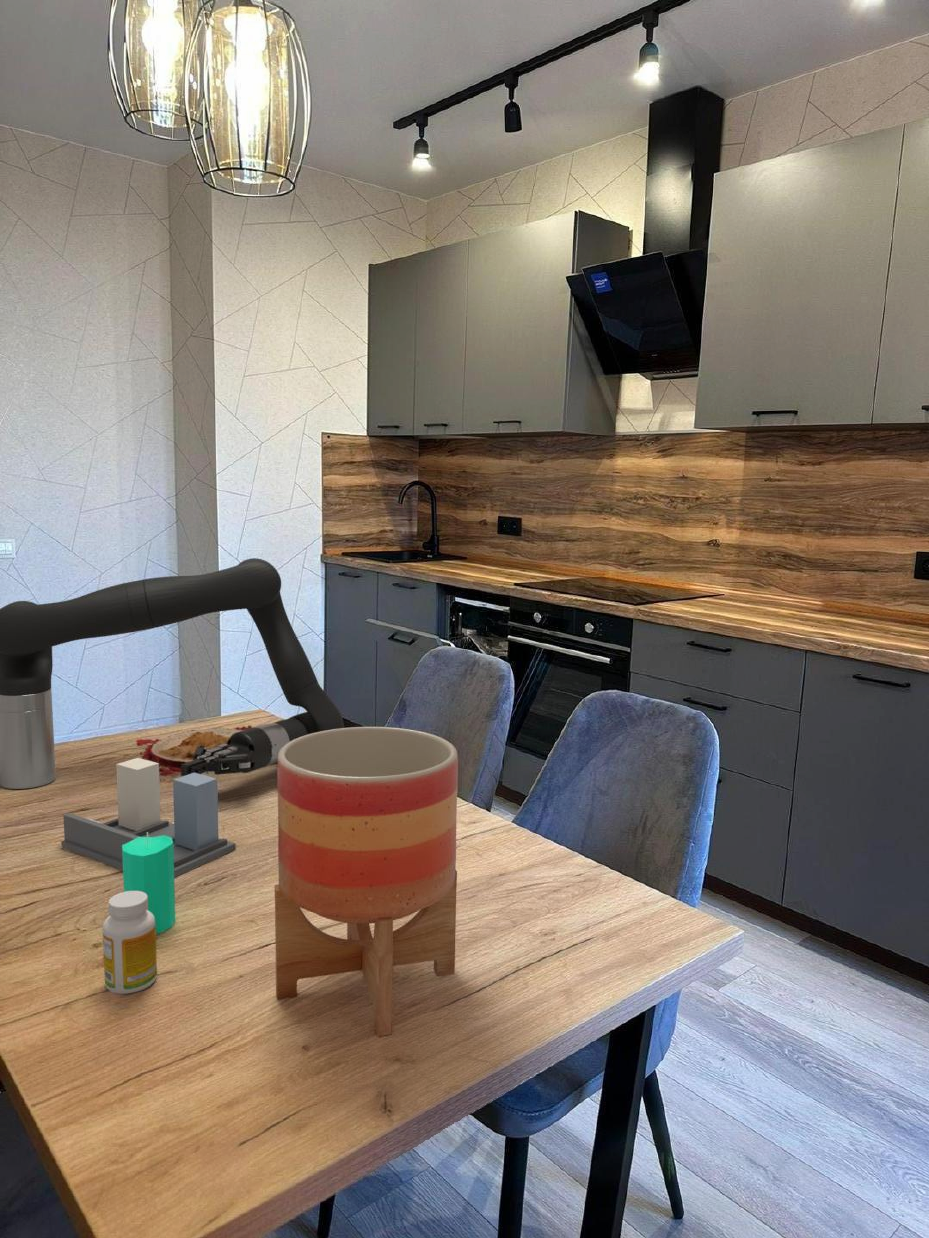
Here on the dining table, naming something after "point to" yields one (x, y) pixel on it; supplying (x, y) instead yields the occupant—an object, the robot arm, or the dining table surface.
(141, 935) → the supplement bottle
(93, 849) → the tray
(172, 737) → the plate with food
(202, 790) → the slate blue key
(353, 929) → the planter
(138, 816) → the ivory key
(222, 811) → the dining table surface
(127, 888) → the candle
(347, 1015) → the dining table surface
